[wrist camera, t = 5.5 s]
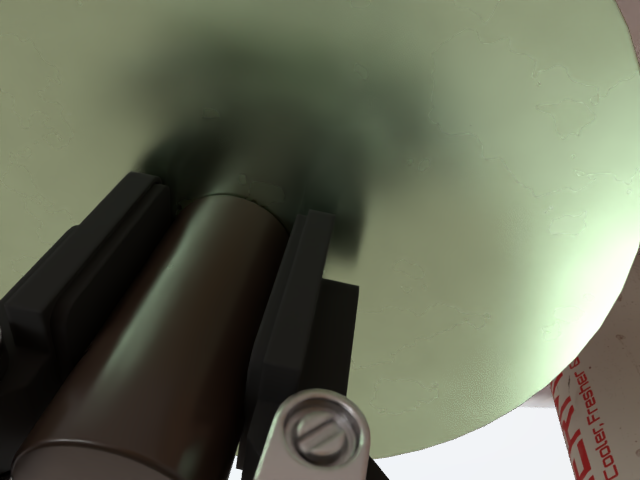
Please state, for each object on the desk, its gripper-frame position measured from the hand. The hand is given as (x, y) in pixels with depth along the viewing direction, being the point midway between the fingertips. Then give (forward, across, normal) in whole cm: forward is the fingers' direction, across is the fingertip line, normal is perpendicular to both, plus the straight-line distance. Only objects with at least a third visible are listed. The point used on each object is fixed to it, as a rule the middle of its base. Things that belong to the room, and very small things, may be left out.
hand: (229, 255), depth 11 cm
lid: (+1, 0, 0) cm, 1 cm away
